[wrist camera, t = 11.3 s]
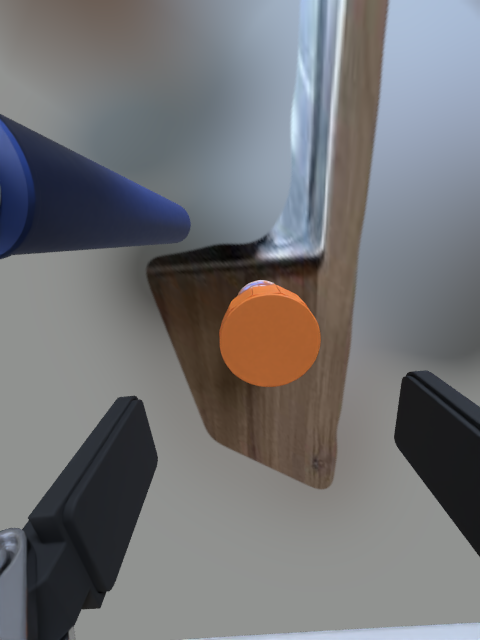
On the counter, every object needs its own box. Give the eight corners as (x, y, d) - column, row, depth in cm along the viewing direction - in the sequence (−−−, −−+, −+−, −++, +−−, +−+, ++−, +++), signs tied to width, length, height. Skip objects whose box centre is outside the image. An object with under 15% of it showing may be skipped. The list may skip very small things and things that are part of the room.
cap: (210, 346, 23) (204, 365, 20) (245, 270, 21) (245, 276, 17) (284, 377, 24) (290, 400, 20) (325, 308, 21) (340, 320, 18)
